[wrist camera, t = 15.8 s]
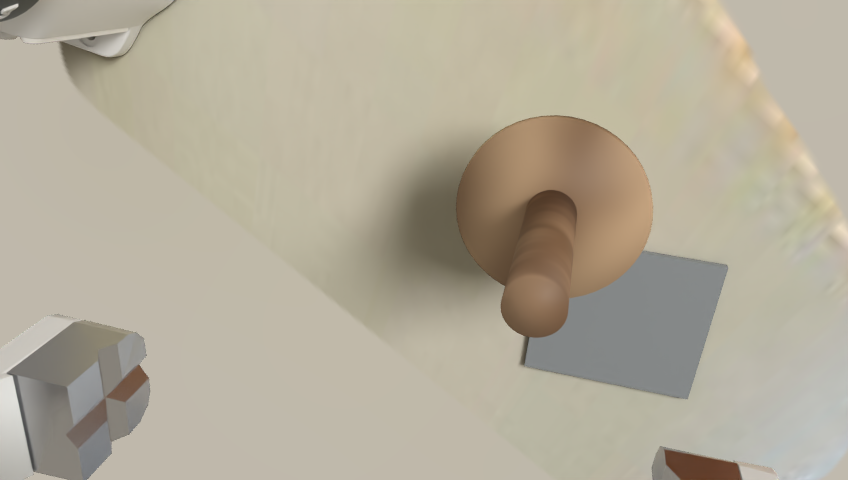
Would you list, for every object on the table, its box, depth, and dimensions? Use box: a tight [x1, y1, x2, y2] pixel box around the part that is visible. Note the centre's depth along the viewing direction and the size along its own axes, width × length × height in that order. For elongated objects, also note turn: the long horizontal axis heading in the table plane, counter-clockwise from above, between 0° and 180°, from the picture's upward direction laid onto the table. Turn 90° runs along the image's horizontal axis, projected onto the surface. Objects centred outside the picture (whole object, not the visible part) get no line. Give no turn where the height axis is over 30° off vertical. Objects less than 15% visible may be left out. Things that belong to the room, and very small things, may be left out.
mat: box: [524, 251, 728, 399], centre depth 45 cm, size 11×10×1 cm
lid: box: [456, 115, 653, 338], centre depth 32 cm, size 10×10×11 cm
